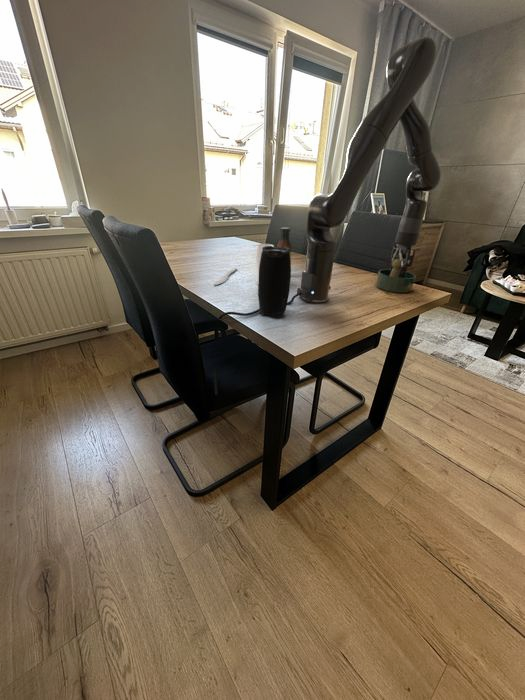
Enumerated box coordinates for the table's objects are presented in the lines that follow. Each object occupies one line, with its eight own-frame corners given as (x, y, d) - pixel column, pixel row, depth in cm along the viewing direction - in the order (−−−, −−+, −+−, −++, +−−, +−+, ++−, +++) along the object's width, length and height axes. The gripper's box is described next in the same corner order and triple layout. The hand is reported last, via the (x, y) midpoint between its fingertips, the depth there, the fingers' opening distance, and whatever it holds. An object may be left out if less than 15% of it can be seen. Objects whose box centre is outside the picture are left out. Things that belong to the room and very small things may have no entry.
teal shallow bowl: (395, 295, 108) (399, 280, 105) (368, 285, 119) (371, 270, 116) (418, 291, 114) (423, 276, 111) (390, 281, 125) (394, 268, 122)
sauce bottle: (292, 275, 128) (296, 227, 118) (287, 278, 123) (291, 229, 113) (278, 273, 130) (281, 226, 120) (273, 276, 125) (276, 228, 115)
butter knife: (239, 268, 132) (233, 267, 133) (219, 285, 110) (212, 284, 110) (239, 269, 133) (233, 268, 133) (219, 286, 110) (212, 285, 110)
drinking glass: (275, 283, 115) (277, 245, 108) (266, 287, 110) (268, 247, 103) (261, 280, 118) (262, 243, 111) (252, 284, 113) (253, 245, 106)
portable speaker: (253, 309, 90) (255, 245, 80) (280, 307, 93) (285, 245, 83) (263, 320, 83) (266, 251, 73) (291, 317, 86) (298, 250, 76)
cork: (398, 290, 113) (406, 262, 107) (383, 286, 116) (390, 259, 110) (402, 286, 117) (410, 259, 111) (387, 283, 120) (394, 257, 114)
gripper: (391, 227, 112) (381, 269, 120) (407, 233, 99) (394, 278, 107) (410, 228, 112) (398, 269, 120) (428, 233, 99) (414, 279, 107)
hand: (396, 273), depth 114 cm, fingers open, 8 cm apart
